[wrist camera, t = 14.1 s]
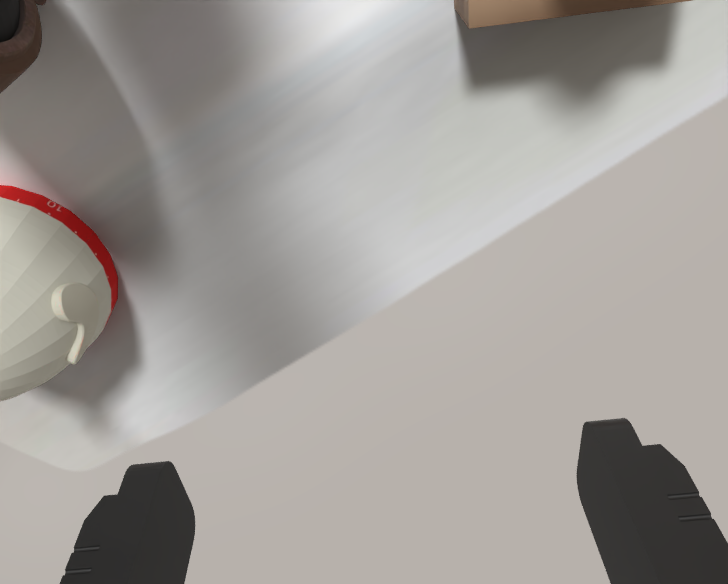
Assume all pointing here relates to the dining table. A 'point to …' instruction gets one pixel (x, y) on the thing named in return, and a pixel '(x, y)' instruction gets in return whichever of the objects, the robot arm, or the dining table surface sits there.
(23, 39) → the alarm clock
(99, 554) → the robot arm
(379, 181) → the dining table surface
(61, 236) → the kitchen timer
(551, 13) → the walnut base
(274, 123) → the dining table surface
